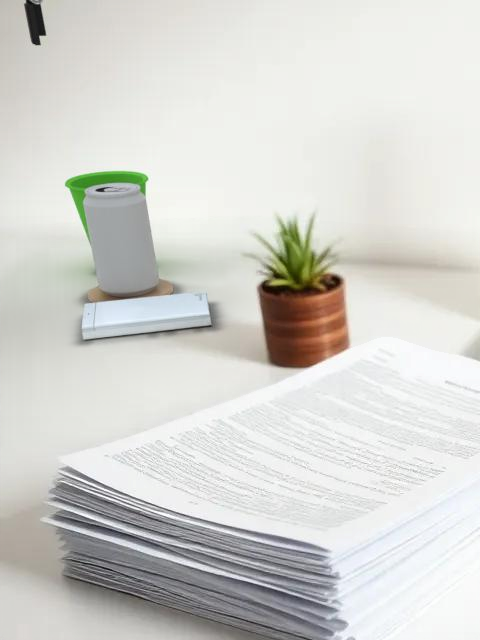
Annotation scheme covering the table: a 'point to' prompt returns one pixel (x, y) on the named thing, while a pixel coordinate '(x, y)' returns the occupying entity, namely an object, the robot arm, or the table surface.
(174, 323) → the hard drive
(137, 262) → the beverage can
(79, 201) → the cup
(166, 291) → the coaster
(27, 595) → the table surface
